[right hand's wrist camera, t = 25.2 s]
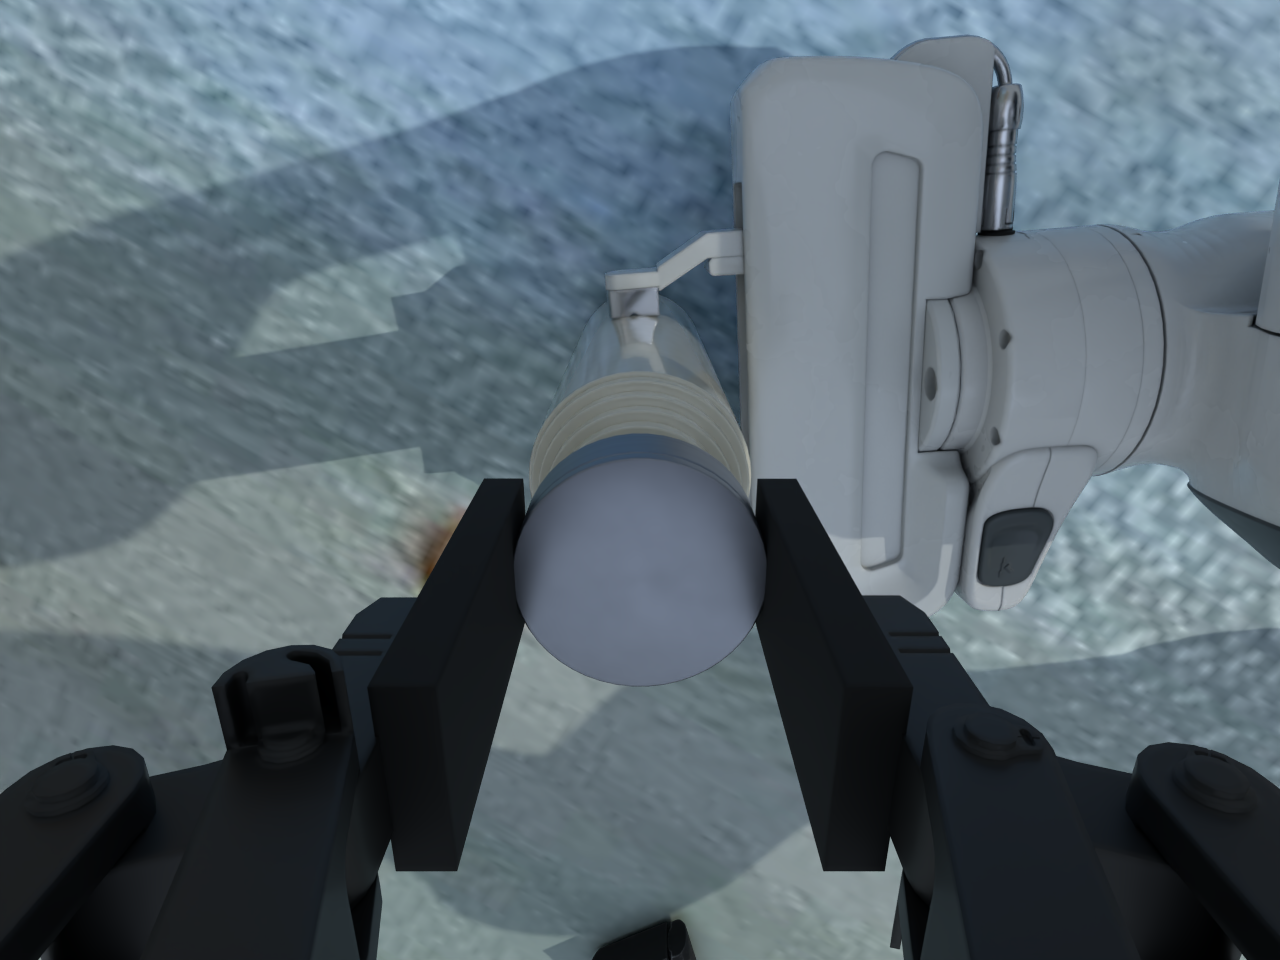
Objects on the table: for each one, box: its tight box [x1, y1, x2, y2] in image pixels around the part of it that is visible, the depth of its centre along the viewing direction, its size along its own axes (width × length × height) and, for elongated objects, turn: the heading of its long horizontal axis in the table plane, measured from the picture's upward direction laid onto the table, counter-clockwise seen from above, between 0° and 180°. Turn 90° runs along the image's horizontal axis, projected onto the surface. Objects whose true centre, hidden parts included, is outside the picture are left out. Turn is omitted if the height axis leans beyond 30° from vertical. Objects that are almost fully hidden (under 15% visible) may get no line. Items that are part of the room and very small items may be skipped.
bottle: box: [529, 295, 751, 498], centre depth 23 cm, size 5×5×20 cm
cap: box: [513, 434, 767, 686], centre depth 14 cm, size 5×5×2 cm
